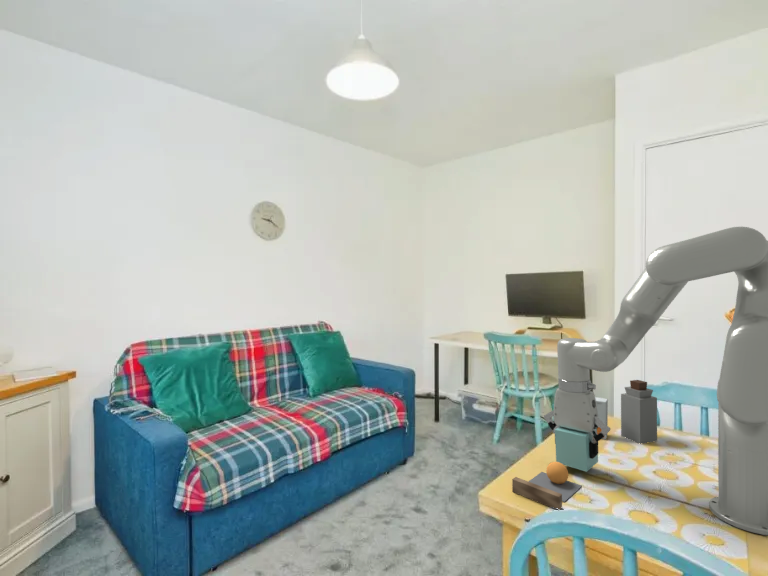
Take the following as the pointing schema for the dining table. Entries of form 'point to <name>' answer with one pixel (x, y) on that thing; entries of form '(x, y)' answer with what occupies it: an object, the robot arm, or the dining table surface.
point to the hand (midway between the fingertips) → (576, 451)
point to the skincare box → (602, 412)
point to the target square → (556, 485)
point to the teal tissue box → (573, 449)
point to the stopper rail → (537, 493)
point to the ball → (557, 472)
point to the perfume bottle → (639, 413)
